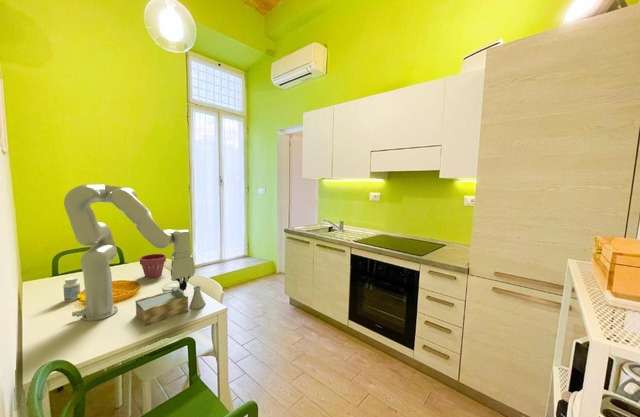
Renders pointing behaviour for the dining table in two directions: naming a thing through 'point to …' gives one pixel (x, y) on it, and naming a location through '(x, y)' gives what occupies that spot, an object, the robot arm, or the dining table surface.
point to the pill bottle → (71, 289)
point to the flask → (197, 299)
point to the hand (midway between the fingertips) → (183, 289)
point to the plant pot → (153, 265)
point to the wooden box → (161, 309)
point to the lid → (161, 299)
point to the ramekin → (171, 285)
